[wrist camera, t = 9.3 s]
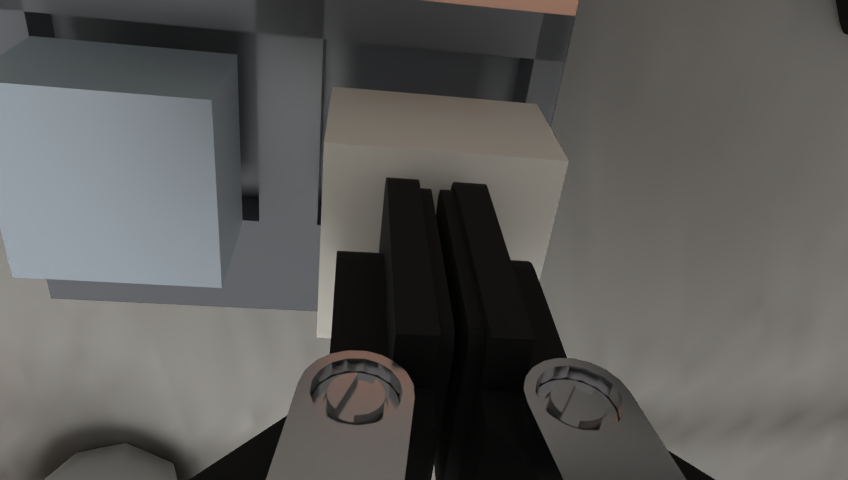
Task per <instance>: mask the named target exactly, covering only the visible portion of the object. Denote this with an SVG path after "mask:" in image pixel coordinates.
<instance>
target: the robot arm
mask: <svg viewBox="0 0 848 480" xmlns="http://www.w3.org/2000/svg"><path fill="white" fill-rule="evenodd" d="M433 466H435V476H436V480H715V479H713V478H712V477H710V476H708V475H707V474H705V473H703V472H702V471H700V470H699V469H697V468H695V467H694V466H692V465H691V464H689V463H687V462H686V461H684V460H682V459H681V458H679V457H678V456H676V455H674V454H673V453H671V452H670V451H668V450H667V449H666V447H665V446H664V444H663V442H662V441H661V439H660V438H659V436H658V435H657V433H656V432H655V430H654V428H653V427H652V425H651V424H650V422H649V421H648V419H647V418H646V416H645V414H644V413H643V411H642V410H641V408H640V407H639V405H638V404H637V402H636V400H635V399H634V397H633V396H632V394H631V393H630V391H629V390H628V389H627V388H626V387H625V385H624V384H623V383H622V382H621V381H620V380H619V379H618V378H616V377H615V376H614V375H612V374H611V373H610V372H608V371H607V370H605V369H603V368H601V367H599V366H597V365H594V364H592V363H590V362H586V361H582V360H578V359H571V358H567V357H566V354H565V351H564V349H563V346H562V343H561V340H560V338H559V335H558V332H557V329H556V327H555V324H554V321H553V318H552V315H551V313H550V310H549V307H548V304H547V302H546V299H545V296H544V293H543V291H542V288H541V285H540V282H539V280H538V277H537V274H536V271H535V269H534V267H533V265H532V263H531V262H529V261H519V260H510V256H509V253H508V250H507V247H506V244H505V241H504V238H503V234H502V231H501V228H500V225H499V222H498V219H497V215H496V212H495V209H494V206H493V203H492V200H491V196H490V193H489V190H488V187H487V185H486V184H477V183H462V182H453V184H452V186H451V190H440V192H439V196H438V203H437V210H436V214H435V208H434V202H433V196H432V190H431V189H426V188H420V182H419V180H418V179H403V178H389V177H386V182H385V190H384V201H383V212H382V223H381V234H380V244H379V253H371V252H353V251H337V256H336V271H335V286H334V301H333V316H332V331H331V346H330V354H329V355H327V356H325V357H322V358H320V359H318V360H316V361H315V362H314V363H313V364H311V365H310V366H309V367H308V368H307V369H306V370H305V371H304V373H303V375H302V376H301V378H300V380H299V382H298V385H297V388H296V391H295V394H294V397H293V400H292V403H291V406H290V409H289V412H288V415H287V416H286V417H284V418H283V419H281V420H280V421H278V422H277V423H275V424H274V425H272V426H270V427H269V428H267V429H266V430H264V431H263V432H261V433H260V434H258V435H257V436H255V437H254V438H252V439H251V440H249V441H248V442H246V443H245V444H243V445H241V446H240V447H238V448H237V449H235V450H234V451H232V452H231V453H229V454H228V455H226V456H225V457H223V458H222V459H220V460H219V461H217V462H216V463H214V464H212V465H211V466H209V467H208V468H206V469H205V470H203V471H202V472H200V473H199V474H197V475H196V476H194V477H193V478H191V479H190V480H431V477H432V471H433Z"/></svg>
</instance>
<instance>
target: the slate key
mask: <svg viewBox="0 0 848 480" xmlns="http://www.w3.org/2000/svg"><path fill="white" fill-rule="evenodd" d="M242 223H243V220H242V190H241V159H240V129H239V98H238V68H237V54H226V53H215V52H204V51H193V50H181V49H170V48H159V47H148V46H137V45H126V44H115V43H103V42H92V41H81V40H70V39H59V38H48V37H37V36H29V37H27V38H26V39H24V40H23V41H21V42H20V43H18V44H17V45H15V46H14V47H12V48H11V49H9V50H8V51H6V52H5V53H3V54H1V55H0V229H1V233H2V237H3V241H4V245H5V249H6V253H7V257H8V261H9V265H10V269H11V273H12V277H18V278H37V279H57V280H76V281H95V282H115V283H134V284H153V285H173V286H192V287H211V288H222V286H223V283H224V280H225V276H226V273H227V270H228V267H229V264H230V261H231V257H232V254H233V251H234V248H235V245H236V242H237V239H238V235H239V232H240V229H241V226H242Z"/></svg>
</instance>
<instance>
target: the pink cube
mask: <svg viewBox="0 0 848 480" xmlns="http://www.w3.org/2000/svg"><path fill="white" fill-rule="evenodd" d="M424 1H433V2H443V3H453V4H463V5H473V6H483V7H492V8H502V9H512V10H522V11H532V12H542V13H551V14H561V15H571V16H576V11H577V7H578V2H579V0H424Z"/></svg>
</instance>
